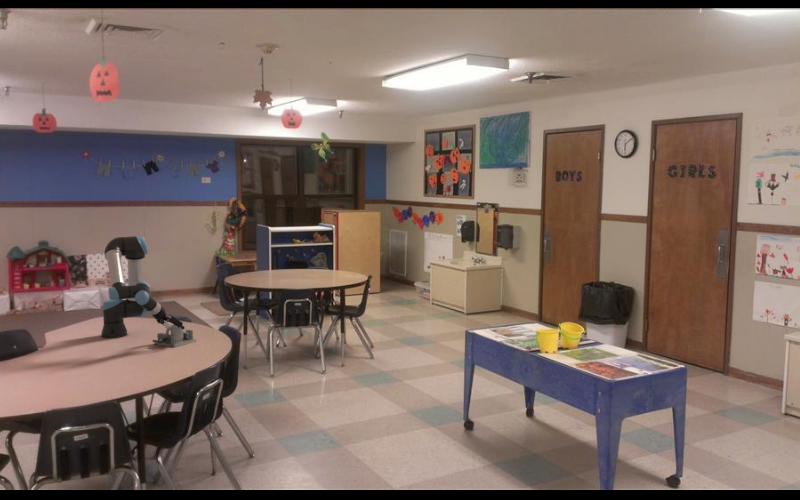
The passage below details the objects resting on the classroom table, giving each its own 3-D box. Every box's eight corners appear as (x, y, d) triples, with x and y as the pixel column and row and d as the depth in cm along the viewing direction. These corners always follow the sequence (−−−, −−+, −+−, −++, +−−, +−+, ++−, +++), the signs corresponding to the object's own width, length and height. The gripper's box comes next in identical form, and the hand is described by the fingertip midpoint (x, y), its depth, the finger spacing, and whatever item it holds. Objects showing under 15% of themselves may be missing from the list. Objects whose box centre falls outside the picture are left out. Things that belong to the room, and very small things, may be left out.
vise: (146, 345, 378) (146, 335, 378) (176, 337, 397) (176, 327, 396) (167, 349, 369) (166, 338, 368) (196, 341, 388) (196, 330, 387)
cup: (183, 340, 384) (182, 326, 383) (165, 342, 381) (165, 327, 380) (183, 337, 391) (182, 323, 390) (166, 339, 387) (165, 324, 386)
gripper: (138, 313, 377) (161, 332, 391) (166, 317, 364) (188, 337, 378) (146, 303, 381) (167, 322, 395) (174, 307, 368) (195, 327, 382)
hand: (178, 330), depth 387 cm, fingers open, 13 cm apart
